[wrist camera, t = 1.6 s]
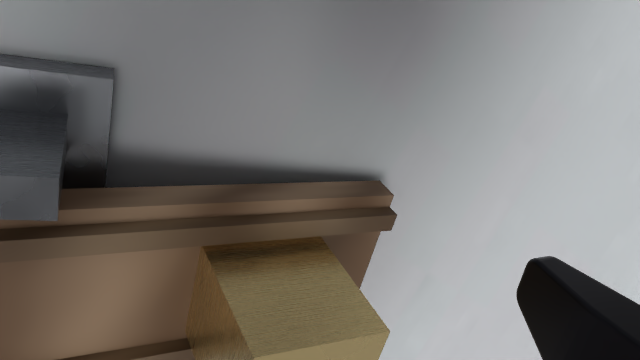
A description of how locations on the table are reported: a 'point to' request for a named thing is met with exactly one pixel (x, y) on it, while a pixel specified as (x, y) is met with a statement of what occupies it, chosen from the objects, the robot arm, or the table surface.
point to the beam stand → (51, 133)
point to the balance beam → (157, 259)
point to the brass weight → (279, 305)
